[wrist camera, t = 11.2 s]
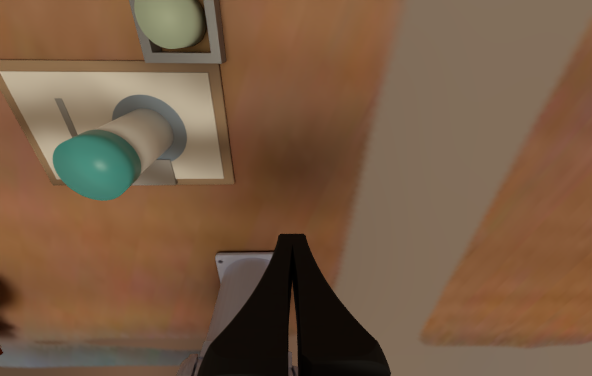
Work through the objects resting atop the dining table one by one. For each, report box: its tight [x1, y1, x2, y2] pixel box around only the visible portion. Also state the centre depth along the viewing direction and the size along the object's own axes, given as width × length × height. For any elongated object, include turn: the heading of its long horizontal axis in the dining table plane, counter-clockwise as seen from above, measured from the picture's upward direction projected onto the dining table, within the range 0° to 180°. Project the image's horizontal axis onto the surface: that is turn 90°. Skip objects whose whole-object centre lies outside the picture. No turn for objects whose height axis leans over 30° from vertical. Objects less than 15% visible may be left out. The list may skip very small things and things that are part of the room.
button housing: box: [129, 0, 226, 63], centre depth 16 cm, size 5×5×2 cm
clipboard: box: [0, 60, 235, 185], centre depth 20 cm, size 10×16×1 cm, turn 89°
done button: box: [134, 0, 206, 49], centre depth 16 cm, size 3×3×3 cm
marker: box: [53, 108, 173, 200], centre depth 17 cm, size 4×4×7 cm
